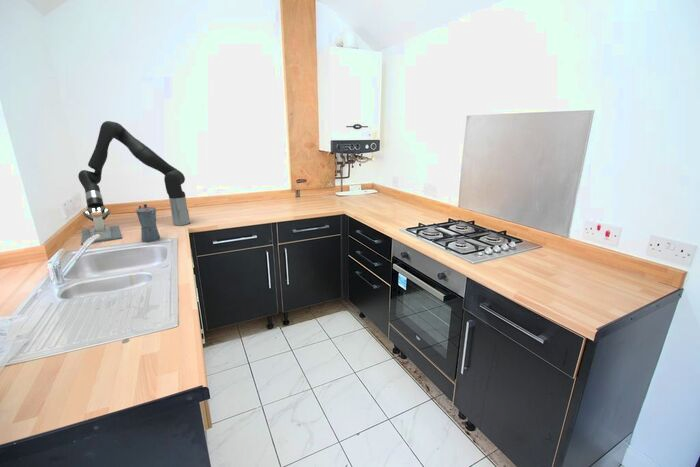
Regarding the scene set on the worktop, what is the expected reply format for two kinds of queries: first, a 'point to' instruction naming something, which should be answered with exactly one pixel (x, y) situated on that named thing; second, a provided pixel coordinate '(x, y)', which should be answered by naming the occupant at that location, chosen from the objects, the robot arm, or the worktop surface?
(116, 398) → the worktop surface
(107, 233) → the mount
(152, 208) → the moka pot
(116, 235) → the board
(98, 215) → the grey upright post
